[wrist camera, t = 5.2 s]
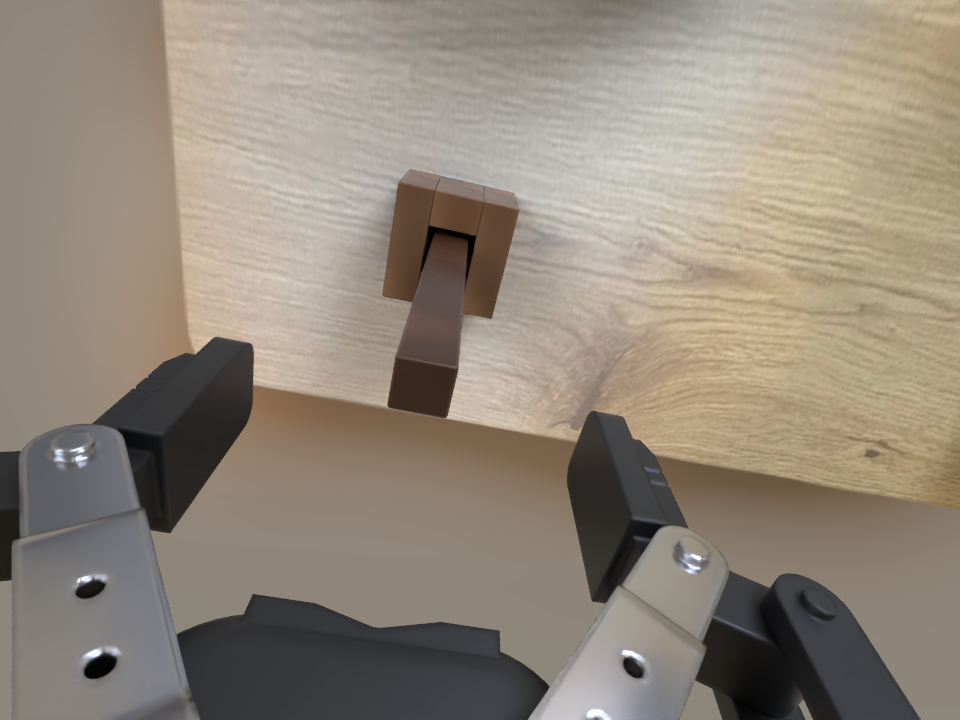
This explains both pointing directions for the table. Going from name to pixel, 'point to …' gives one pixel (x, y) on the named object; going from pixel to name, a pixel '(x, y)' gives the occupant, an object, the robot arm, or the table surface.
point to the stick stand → (455, 210)
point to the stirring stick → (432, 331)
